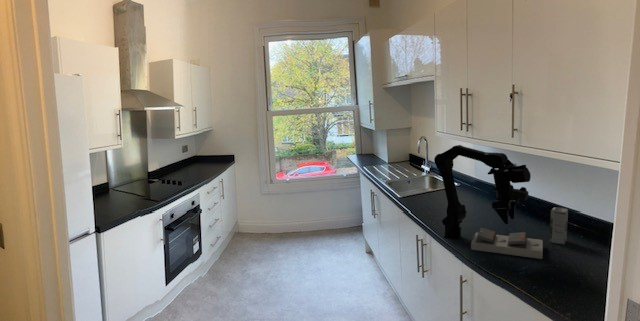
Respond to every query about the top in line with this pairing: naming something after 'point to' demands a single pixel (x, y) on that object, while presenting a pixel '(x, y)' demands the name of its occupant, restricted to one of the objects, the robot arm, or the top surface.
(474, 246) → the double rocker switch panel
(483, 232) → the dark grey rectangular block
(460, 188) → the top surface
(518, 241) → the right rocker
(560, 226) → the syrup box
